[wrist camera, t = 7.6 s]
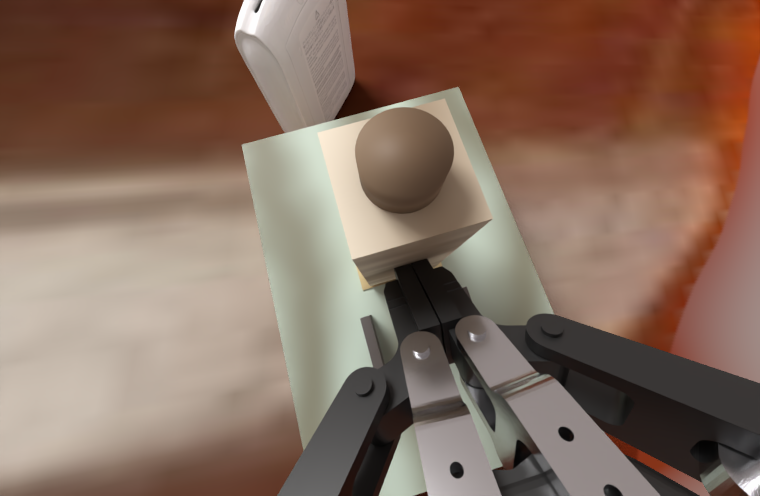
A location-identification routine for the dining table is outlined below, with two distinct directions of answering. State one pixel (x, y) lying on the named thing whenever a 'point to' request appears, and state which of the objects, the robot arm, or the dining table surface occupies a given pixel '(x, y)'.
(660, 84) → the dining table surface
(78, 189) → the dining table surface
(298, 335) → the rectangular block
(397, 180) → the wooden knobbed block
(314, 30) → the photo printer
